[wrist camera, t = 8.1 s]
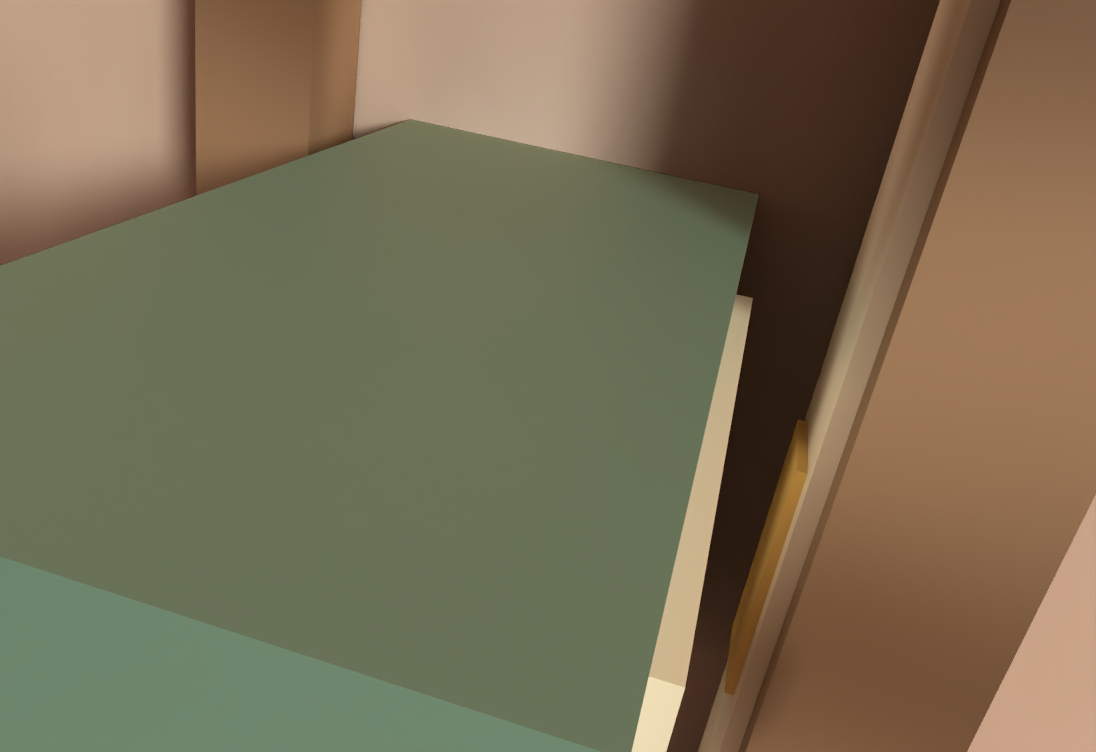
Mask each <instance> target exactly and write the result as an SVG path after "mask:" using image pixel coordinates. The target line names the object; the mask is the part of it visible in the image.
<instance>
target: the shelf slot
mask: <svg viewBox="0 0 1096 752" xmlns="http://www.w3.org/2000/svg"><path fill="white" fill-rule="evenodd" d="M361 2H362V0H195V85H196V196H197V195H200V194H202V193H205V192H208V191H211V190H214V189H216V188H219V187H222V186H225V185H228V184H230V183H233V182H236V181H239V180H242V179H244V178H247V177H250V176H253V175H256V174H258V173H261V172H264V171H267V170H270V169H272V168H275V167H278V166H281V165H284V164H286V163H289V162H292V161H295V160H298V159H300V158H303V157H306V156H309V155H312V154H314V153H317V152H320V151H323V150H326V149H328V148H331V147H334V146H337V145H340V144H342V143H345V142H348V141H351V140H352V137H353V122H354V107H355V92H356V77H357V62H358V47H359V32H360V17H361ZM1095 494H1096V0H940V2H939V5H938V8H937V11H936V14H935V17H934V20H933V23H932V27H931V30H930V33H929V36H928V39H927V42H926V45H925V48H924V51H923V55H922V58H921V61H920V64H919V67H918V70H917V73H916V76H915V79H914V82H913V86H912V89H911V92H910V95H909V98H908V101H907V104H906V107H905V110H904V114H903V117H902V120H901V123H900V126H899V129H898V132H897V135H896V138H895V141H894V145H893V148H892V151H891V154H890V157H889V160H888V163H887V166H886V169H885V172H884V176H883V179H882V182H881V185H880V188H879V191H878V194H877V197H876V200H875V204H874V207H873V210H872V213H871V216H870V219H869V222H868V225H867V228H866V231H865V235H864V238H863V241H862V244H861V247H860V250H859V253H858V256H857V259H856V262H855V266H854V269H853V272H852V275H851V278H850V281H849V284H848V287H847V290H846V294H845V297H844V300H843V303H842V306H841V309H840V312H839V315H838V318H837V321H836V325H835V328H834V331H833V334H832V337H831V340H830V343H829V346H828V349H827V353H826V356H825V359H824V362H823V365H822V368H821V371H820V374H819V377H818V380H817V384H816V387H815V390H814V393H813V396H812V399H811V402H810V405H809V408H808V411H807V415H806V418H805V421H802V420H798V421H797V424H796V427H795V430H794V433H793V436H792V439H791V443H790V446H789V449H788V452H787V455H786V458H785V461H784V465H783V468H782V471H781V474H780V477H779V480H778V483H777V487H776V490H775V493H774V496H773V499H772V502H771V505H770V509H769V512H768V515H767V518H766V521H765V524H764V527H763V531H762V534H761V537H760V540H759V543H758V546H757V549H756V553H755V556H754V559H753V562H752V565H751V568H750V571H749V575H748V578H747V581H746V584H745V587H744V590H743V593H742V597H741V600H740V603H739V606H738V609H737V612H736V615H735V619H734V622H733V625H732V631H731V639H730V648H729V656H728V660H727V663H726V666H725V669H724V672H723V675H722V678H721V682H720V685H719V688H718V691H717V694H716V697H715V700H714V703H713V706H712V709H711V713H710V716H709V719H708V722H707V725H706V728H705V731H704V734H703V737H702V741H701V744H700V747H699V750H698V752H967V751H968V749H969V747H970V744H971V742H972V740H973V738H974V736H975V734H976V732H977V730H978V728H979V726H980V724H981V722H982V720H983V718H984V716H985V714H986V712H987V710H988V708H989V706H990V704H991V702H992V700H993V698H994V696H995V694H996V692H997V690H998V688H999V686H1000V684H1001V682H1002V680H1003V678H1004V676H1005V674H1006V672H1007V670H1008V668H1009V666H1010V664H1011V662H1012V660H1013V658H1014V656H1015V654H1016V652H1017V650H1018V648H1019V646H1020V644H1021V642H1022V640H1023V638H1024V636H1025V634H1026V632H1027V630H1028V628H1029V626H1030V624H1031V622H1032V620H1033V618H1034V616H1035V614H1036V612H1037V610H1038V608H1039V606H1040V604H1041V602H1042V600H1043V598H1044V596H1045V594H1046V592H1047V590H1048V588H1049V586H1050V584H1051V582H1052V580H1053V578H1054V576H1055V574H1056V572H1057V570H1058V568H1059V566H1060V564H1061V562H1062V560H1063V558H1064V556H1065V554H1066V552H1067V550H1068V548H1069V546H1070V544H1071V542H1072V540H1073V538H1074V536H1075V534H1076V532H1077V530H1078V528H1079V526H1080V524H1081V522H1082V520H1083V518H1084V516H1085V514H1086V512H1087V510H1088V508H1089V506H1090V504H1091V502H1092V500H1093V498H1094V496H1095Z"/></svg>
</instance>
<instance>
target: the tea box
mask: <svg viewBox="0 0 1096 752" xmlns="http://www.w3.org/2000/svg"><path fill="white" fill-rule="evenodd" d="M758 197H759V194H756V193H751V192H746V191H742V190H737V189H732V188H728V187H723V186H718V185H714V184H709V183H704V182H700V181H695V180H690V179H686V178H681V177H676V176H672V175H667V174H663V173H658V172H653V171H649V170H644V169H639V168H635V167H630V166H625V165H621V164H616V163H611V162H607V161H602V160H597V159H593V158H588V157H583V156H579V155H574V154H570V153H565V152H560V151H556V150H551V149H546V148H542V147H537V146H532V145H528V144H523V143H518V142H514V141H509V140H504V139H500V138H495V137H490V136H486V135H481V134H477V133H472V132H467V131H463V130H458V129H453V128H449V127H444V126H439V125H435V124H430V123H425V122H421V121H416V120H411V119H410V120H407V121H404V122H401V123H399V124H396V125H393V126H390V127H387V128H385V129H382V130H379V131H376V132H373V133H371V134H368V135H365V136H362V137H359V138H357V139H354V140H351V141H348V142H345V143H342V144H340V145H337V146H334V147H331V148H328V149H326V150H323V151H320V152H317V153H314V154H312V155H309V156H306V157H303V158H300V159H298V160H295V161H292V162H289V163H286V164H284V165H281V166H278V167H275V168H272V169H270V170H267V171H264V172H261V173H258V174H256V175H253V176H250V177H247V178H244V179H242V180H239V181H236V182H233V183H230V184H228V185H225V186H222V187H219V188H216V189H214V190H211V191H208V192H205V193H202V194H200V195H197V196H194V197H191V198H188V199H186V200H183V201H180V202H177V203H174V204H172V205H169V206H166V207H163V208H160V209H158V210H155V211H152V212H149V213H146V214H144V215H141V216H138V217H135V218H132V219H130V220H127V221H124V222H121V223H118V224H116V225H113V226H110V227H107V228H104V229H102V230H99V231H96V232H93V233H90V234H88V235H85V236H82V237H79V238H76V239H73V240H71V241H68V242H65V243H62V244H59V245H57V246H54V247H51V248H48V249H45V250H43V251H40V252H37V253H34V254H31V255H29V256H26V257H23V258H20V259H17V260H15V261H12V262H9V263H6V264H3V265H1V266H0V752H666V751H667V748H668V744H669V741H670V738H671V734H672V731H673V727H674V724H675V721H676V717H677V714H678V710H679V707H680V704H681V700H682V697H683V694H684V690H685V686H686V680H687V675H688V669H689V663H690V657H691V652H692V646H693V640H694V634H695V629H696V623H697V617H698V611H699V606H700V600H701V594H702V588H703V583H704V577H705V571H706V565H707V560H708V554H709V548H710V542H711V537H712V531H713V525H714V519H715V514H716V508H717V502H718V496H719V491H720V485H721V479H722V473H723V468H724V462H725V456H726V450H727V445H728V439H729V433H730V427H731V422H732V416H733V410H734V404H735V399H736V393H737V387H738V381H739V376H740V370H741V364H742V358H743V353H744V347H745V341H746V335H747V330H748V324H749V318H750V312H751V307H752V301H753V298H750V297H746V296H742V295H737V294H736V293H737V289H738V284H739V280H740V276H741V271H742V267H743V262H744V258H745V254H746V249H747V245H748V241H749V236H750V232H751V228H752V223H753V219H754V214H755V210H756V206H757V201H758Z"/></svg>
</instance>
